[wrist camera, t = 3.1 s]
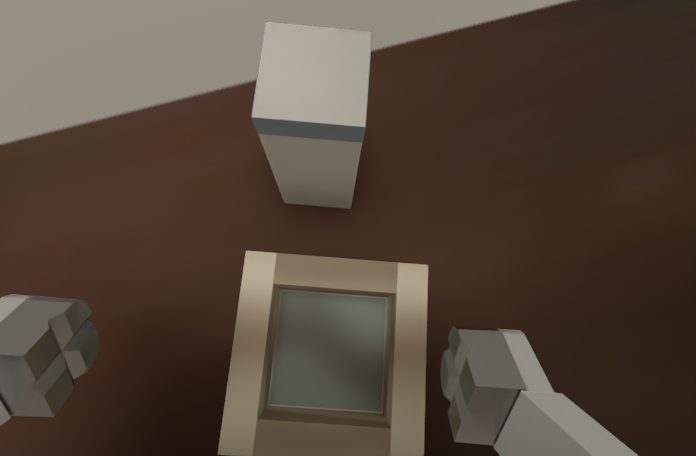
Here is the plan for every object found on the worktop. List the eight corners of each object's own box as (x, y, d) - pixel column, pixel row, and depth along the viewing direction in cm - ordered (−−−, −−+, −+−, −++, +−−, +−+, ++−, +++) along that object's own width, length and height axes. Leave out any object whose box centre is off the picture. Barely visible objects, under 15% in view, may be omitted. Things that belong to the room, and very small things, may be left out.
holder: (408, 444, 20) (423, 468, 17) (236, 432, 20) (217, 454, 17) (413, 274, 23) (428, 265, 19) (258, 261, 22) (245, 250, 19)
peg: (350, 209, 23) (365, 127, 14) (284, 203, 23) (251, 117, 14) (355, 147, 24) (371, 31, 15) (291, 142, 24) (265, 21, 15)
